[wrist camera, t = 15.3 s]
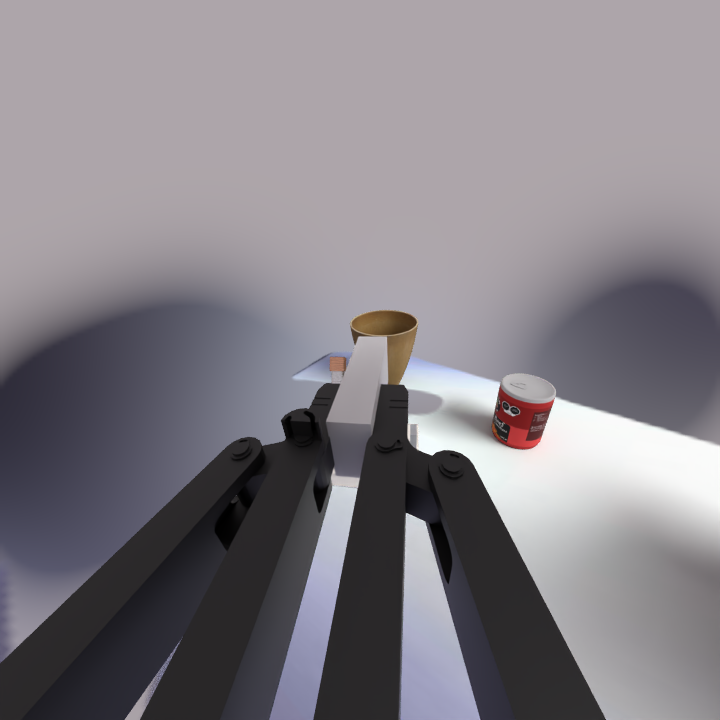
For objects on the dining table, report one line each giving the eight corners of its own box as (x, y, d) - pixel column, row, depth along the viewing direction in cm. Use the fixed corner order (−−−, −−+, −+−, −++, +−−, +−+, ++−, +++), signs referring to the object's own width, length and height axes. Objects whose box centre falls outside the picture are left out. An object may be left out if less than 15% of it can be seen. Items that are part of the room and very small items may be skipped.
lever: (343, 441, 49) (346, 357, 50) (341, 444, 47) (343, 357, 48) (330, 440, 50) (333, 357, 50) (327, 443, 48) (330, 356, 48)
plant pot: (390, 408, 60) (388, 342, 53) (343, 384, 70) (336, 324, 62) (428, 378, 69) (431, 317, 61) (382, 360, 79) (380, 305, 71)
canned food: (489, 417, 56) (498, 370, 50) (535, 423, 53) (550, 375, 48) (492, 446, 50) (503, 396, 44) (544, 454, 47) (562, 403, 42)
